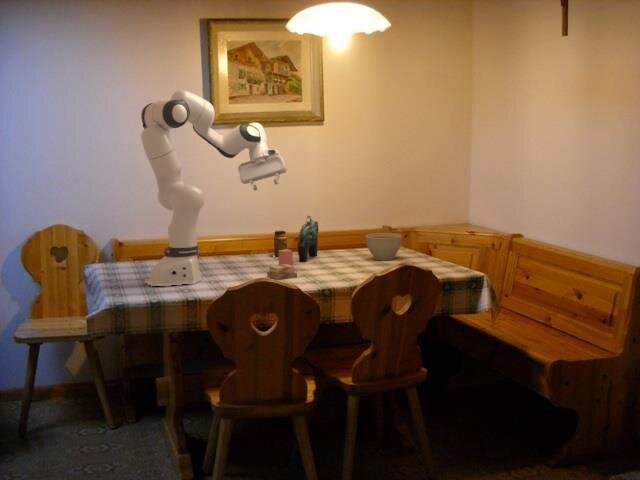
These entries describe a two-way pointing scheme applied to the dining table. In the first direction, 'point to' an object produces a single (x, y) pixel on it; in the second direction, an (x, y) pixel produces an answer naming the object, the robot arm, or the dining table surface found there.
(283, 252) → the brick-red pillar
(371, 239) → the planter bowl
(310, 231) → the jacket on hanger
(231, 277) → the dining table surface
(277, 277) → the walnut base slab
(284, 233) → the condiment
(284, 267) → the oak top slab
